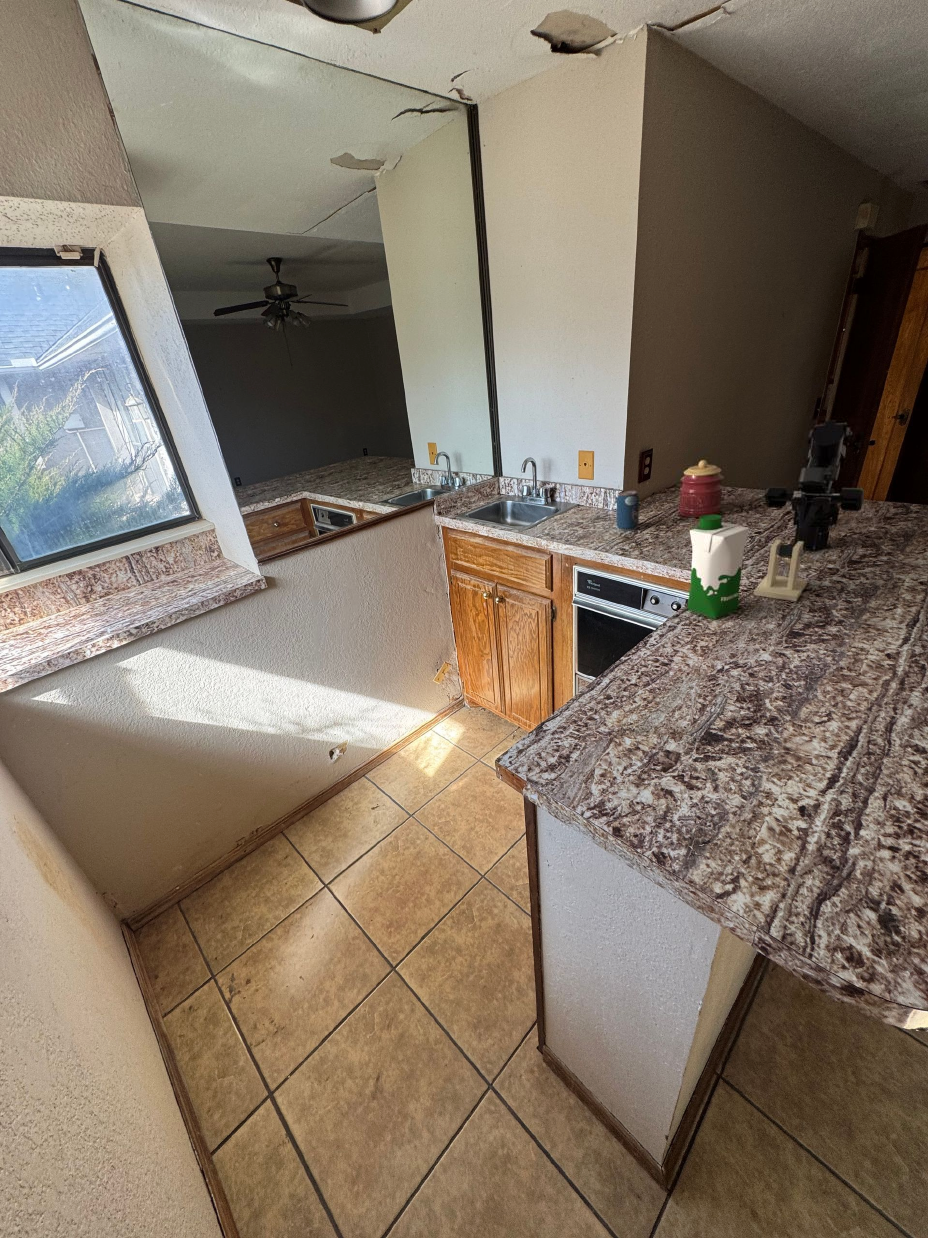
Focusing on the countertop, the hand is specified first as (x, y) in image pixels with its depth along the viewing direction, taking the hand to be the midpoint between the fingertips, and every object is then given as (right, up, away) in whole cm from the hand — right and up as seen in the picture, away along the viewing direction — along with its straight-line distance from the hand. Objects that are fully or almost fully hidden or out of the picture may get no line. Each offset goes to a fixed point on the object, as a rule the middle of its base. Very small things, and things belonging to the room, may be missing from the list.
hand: (801, 530), depth 111 cm
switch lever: (-7, -8, -5) cm, 12 cm away
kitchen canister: (+3, +16, +54) cm, 57 cm away
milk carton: (-25, -19, -8) cm, 32 cm away
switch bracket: (-8, -14, -5) cm, 17 cm away
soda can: (-23, +10, +51) cm, 57 cm away
